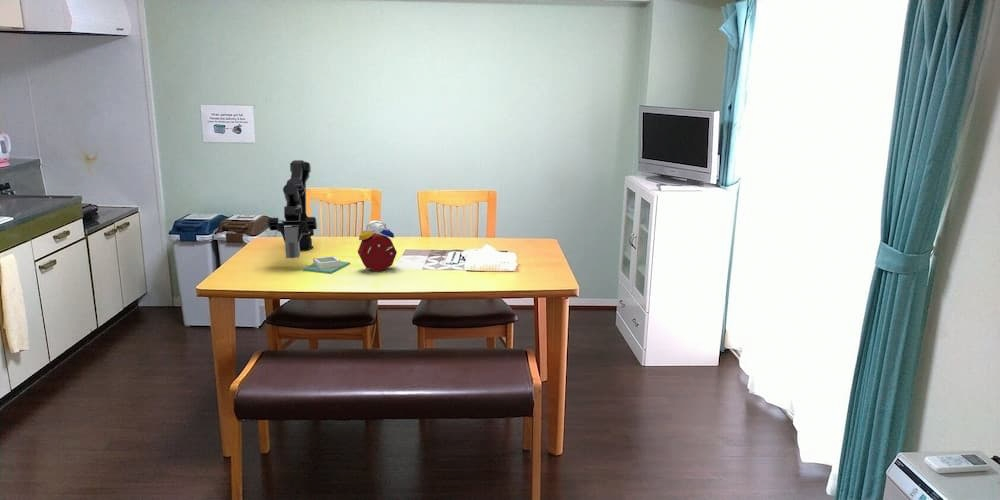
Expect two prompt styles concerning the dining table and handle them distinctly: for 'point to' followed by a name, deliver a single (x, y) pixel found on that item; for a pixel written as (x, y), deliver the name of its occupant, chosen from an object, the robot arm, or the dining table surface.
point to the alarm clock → (377, 249)
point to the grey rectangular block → (292, 242)
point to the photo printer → (376, 227)
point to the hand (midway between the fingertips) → (291, 241)
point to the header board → (329, 270)
